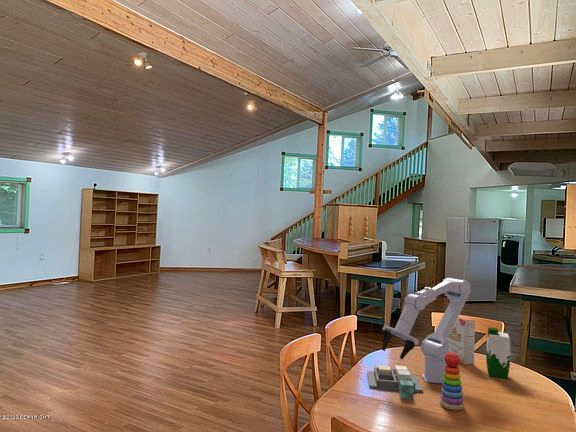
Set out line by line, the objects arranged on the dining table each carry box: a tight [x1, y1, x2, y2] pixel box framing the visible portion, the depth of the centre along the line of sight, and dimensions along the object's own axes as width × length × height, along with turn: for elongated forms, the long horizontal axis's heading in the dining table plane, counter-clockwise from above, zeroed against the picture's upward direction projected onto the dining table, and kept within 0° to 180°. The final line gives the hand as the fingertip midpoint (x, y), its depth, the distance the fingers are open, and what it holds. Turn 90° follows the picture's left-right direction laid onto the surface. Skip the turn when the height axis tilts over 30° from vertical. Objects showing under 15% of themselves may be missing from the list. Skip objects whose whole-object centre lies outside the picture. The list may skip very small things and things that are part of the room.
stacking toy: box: [439, 352, 465, 411], centre depth 147 cm, size 8×8×19 cm
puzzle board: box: [366, 364, 424, 394], centre depth 167 cm, size 20×16×6 cm
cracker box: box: [447, 314, 476, 366], centre depth 198 cm, size 14×6×21 cm, turn 14°
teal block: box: [398, 380, 415, 400], centre depth 154 cm, size 4×4×5 cm
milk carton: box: [485, 327, 511, 381], centre depth 179 cm, size 9×9×20 cm
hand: (391, 354), depth 160 cm, fingers open, 7 cm apart
